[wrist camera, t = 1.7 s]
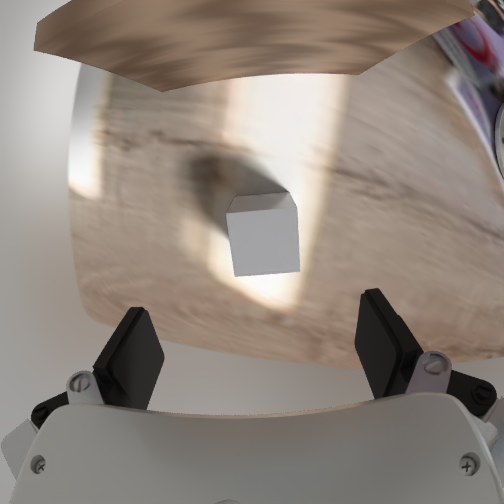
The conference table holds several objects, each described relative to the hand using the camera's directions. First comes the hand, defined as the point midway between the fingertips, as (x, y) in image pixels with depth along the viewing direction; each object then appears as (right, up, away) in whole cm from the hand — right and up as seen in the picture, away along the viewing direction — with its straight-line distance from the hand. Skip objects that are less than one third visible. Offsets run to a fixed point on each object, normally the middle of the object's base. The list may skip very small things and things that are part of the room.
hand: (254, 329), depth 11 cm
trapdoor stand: (0, +27, +5) cm, 28 cm away
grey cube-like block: (+1, +6, +14) cm, 16 cm away
